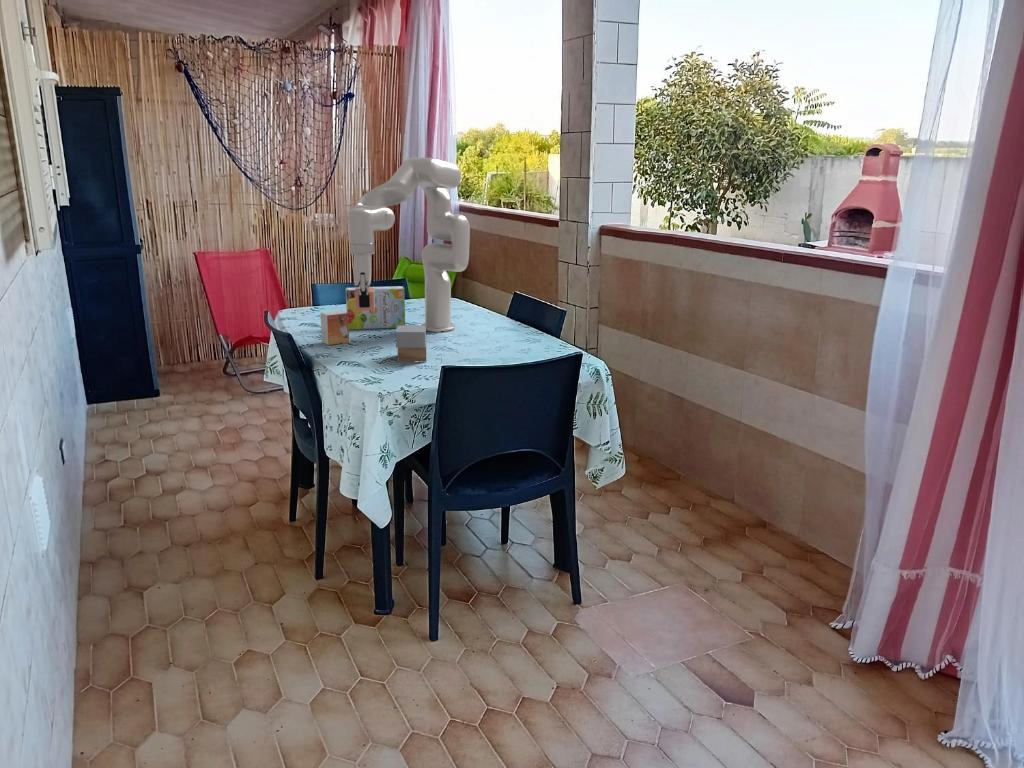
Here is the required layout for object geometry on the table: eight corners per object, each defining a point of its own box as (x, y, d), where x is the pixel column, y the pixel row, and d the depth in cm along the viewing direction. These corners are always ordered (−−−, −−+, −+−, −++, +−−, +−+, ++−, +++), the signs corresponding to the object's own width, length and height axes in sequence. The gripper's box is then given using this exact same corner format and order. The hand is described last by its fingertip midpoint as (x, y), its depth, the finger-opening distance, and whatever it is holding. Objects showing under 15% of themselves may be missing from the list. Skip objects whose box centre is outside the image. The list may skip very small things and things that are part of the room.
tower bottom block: (398, 355, 253) (398, 340, 252) (426, 355, 254) (425, 340, 253) (397, 362, 244) (397, 347, 243) (426, 362, 246) (426, 347, 244)
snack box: (403, 324, 295) (403, 285, 291) (405, 328, 290) (404, 288, 286) (347, 326, 290) (345, 286, 286) (347, 330, 285) (346, 289, 281)
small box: (328, 345, 262) (326, 315, 259) (321, 342, 267) (319, 312, 263) (349, 342, 267) (348, 312, 264) (343, 339, 271) (341, 309, 268)
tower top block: (398, 340, 252) (397, 325, 250) (425, 340, 252) (425, 325, 251) (396, 347, 243) (395, 331, 242) (424, 347, 244) (424, 332, 242)
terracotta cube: (356, 306, 251) (355, 288, 250) (375, 306, 252) (374, 288, 250) (355, 310, 246) (354, 292, 244) (374, 310, 247) (373, 291, 245)
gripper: (352, 244, 251) (354, 299, 256) (348, 253, 234) (351, 311, 240) (375, 244, 252) (377, 299, 257) (373, 252, 235) (376, 310, 241)
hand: (365, 304), depth 249 cm, fingers closed on terracotta cube, 6 cm apart
